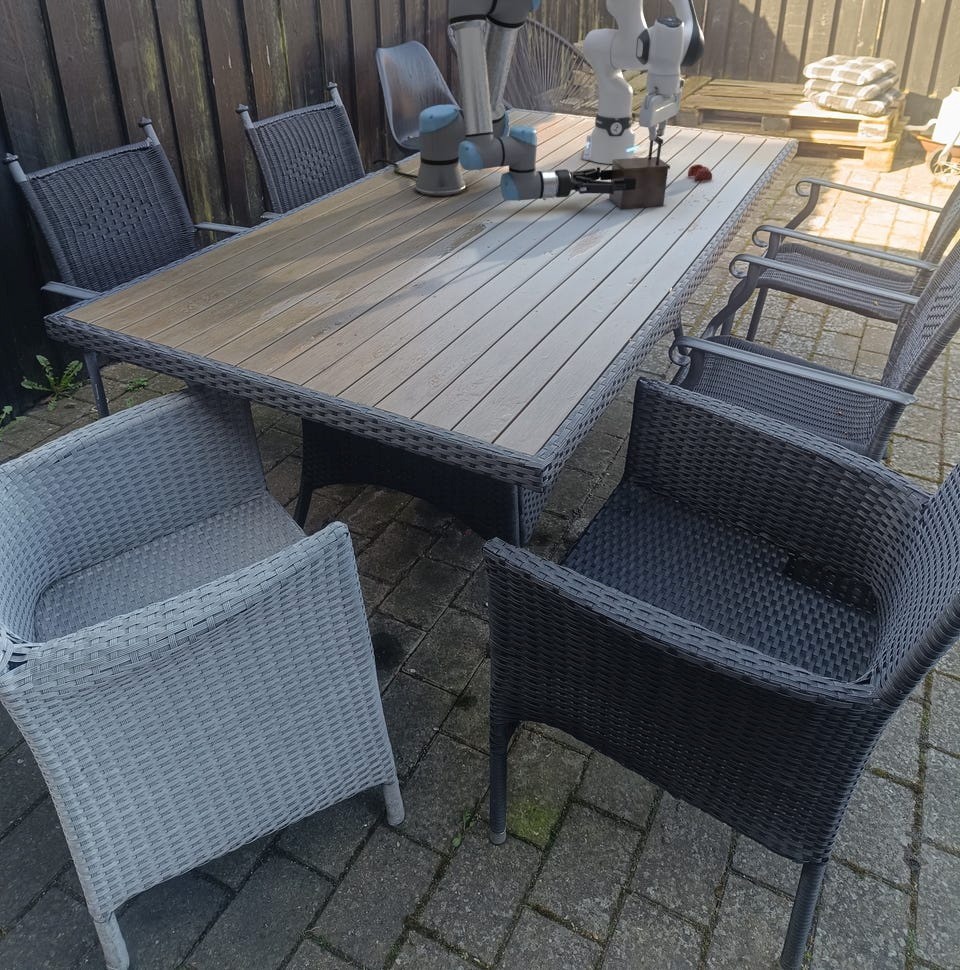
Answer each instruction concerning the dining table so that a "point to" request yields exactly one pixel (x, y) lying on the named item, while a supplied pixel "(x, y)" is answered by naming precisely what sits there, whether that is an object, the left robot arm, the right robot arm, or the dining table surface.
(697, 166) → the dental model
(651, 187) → the chest
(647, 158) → the lid
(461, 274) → the dining table surface
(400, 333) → the dining table surface
